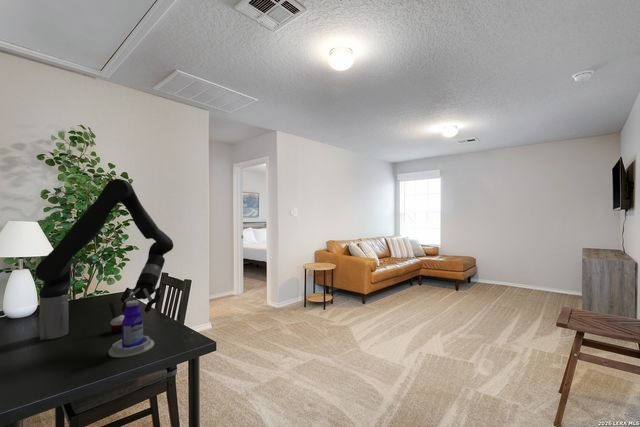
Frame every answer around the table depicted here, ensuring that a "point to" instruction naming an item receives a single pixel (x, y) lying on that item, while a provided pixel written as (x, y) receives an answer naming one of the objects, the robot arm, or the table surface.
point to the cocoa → (116, 320)
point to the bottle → (132, 325)
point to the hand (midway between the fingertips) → (134, 312)
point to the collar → (121, 352)
